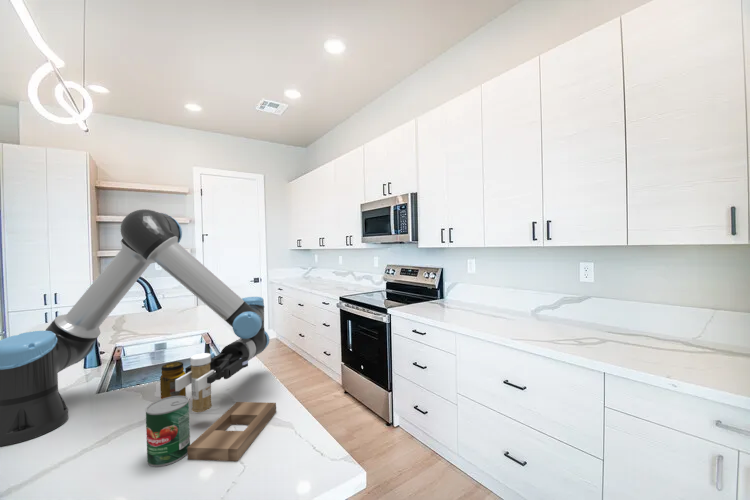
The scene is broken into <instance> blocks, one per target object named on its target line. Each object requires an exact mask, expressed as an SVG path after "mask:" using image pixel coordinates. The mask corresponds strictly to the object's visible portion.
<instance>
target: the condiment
mask: <svg viewBox="0 0 750 500" xmlns="http://www.w3.org/2000/svg"><path fill="white" fill-rule="evenodd" d="M184 370H185V369H184V362H182V361H173V362H171V361H170V362H168V363H165V364H163V365H162V367H161V376H160V378H159V382H160V383H159V384H160V386H159V387H160V388H159V389H160V399H163V398H167V397H172V396H186V397H187V393H186V391H187V390H186V389H187V388H186V387H187V386H186V387H185V388H183V389H181V390H180V391H175V380H176V379H178V378H179V377H181V376H183V375H184V374H185V371H184ZM190 399H191V398H189V401H190Z"/></svg>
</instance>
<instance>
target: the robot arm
mask: <svg viewBox="0 0 750 500" xmlns="http://www.w3.org/2000/svg"><path fill="white" fill-rule="evenodd" d="M120 235H121V238H122V239H121V241H120V245H121V249H120V250H119V252H117V254H116V255H115V256H114V258H112V260H111V261H110V262H109V263H108V265H107V266H106V267H105V268H104V270H102V272H101V273H100V274H99V275H98V276H97V278H96V279H95V280H94V281H93V282H92V284H91V285H90V286H89V287H88V288H87V290H86V291H85V292H84V293H83V294H82V295H81V297H80V298H79V299H78V300H77V301H76V302H75V304H74V305H73V306H72V307H71V309H70V310H69V311H68V312H67V313H66V314H61V315H57V316H56V317H55V318H54V320H53V321H51V323H50V324H49V325H48V326H47V327H46V329H45V330H35V331H26V332H22V333H19V334H16V335H12V336H11V335H10V336H8V337H5V338H2V339H1V340H0V447H3V446H9V445H14V444H18V443H21V442H24V441H28V440H31V439H34V438H37V437H40V436H41V435H46V433H49V432H51V431H53V430H56V429H57V428H59V427H60V426H62V425H63V424H65V423H66V422H67V421H68V420H69V408H68V406H67V404H66V402H65V400H64V399H63V397H62V395H61V393H60V392H59V379H58V378H59V377H58V376H59V375H58V373H60V372H62V371H63V370H65V369H68V368H69V367H71V366H73V365H75V364H78V363H79V362H81V361H82V360H84V359H85V358H86V357H88V356H89V354H90V353H91V352H92V350H94V348H95V345H96V343H97V339H98V338H99V336H100V335H101V329H100V326H101V325H102V324H103V323H104V322H105V320H106V319H107V318H108V316H109V315H110V314H112V313H111V312H113V310H115V308H116V307H117V306H118V304H119V303H120V302H121V300H123V298H124V297H125V296H126V295H127V293H128V292H129V290H131V289H132V287H133V286H134V285H135V284H136V282H137V281H138V280H139V278H140V277H141V276H142V275H144V272H145V271H146V270H147V269H148V268H149V266H150V265H151V264H157V265H158V266H159V267H161V268H162V269H163V270H164V271H166V272H167V274H169V275H170V276H171V277H172V278H174V279H175V280H176V281H177V282H179V284H181V285H182V286H184V288H186V289H187V290H188V291H189V292H190V293H191V294H192V295H193V296H195V297H196V298H197V299H198V300H200V301H201V302H202V303H203V304H204V305H206V306H207V307H208V308H209V309H210V310H211V311H213V312H214V313H215V314H217V316H218V317H220V319H222V320H224V321H225V322H226V323H227V324H228V325H229V326H230V327H232V330H233V333H234V334H235V336H236V337H238V339H236V340H234V341H233V342H231V343H229V344H227V345H226V346H224V347H223V348H222V349H221V351H220V353H219V354H216V355H215V356H213V357H211V362H210V371H209V372H208V373H206V374H204V375H203V376H201V377H200V378H198V379H197V380H195V392H199V391H201V390H202V389H203V388H205V387H206V386H208V385H209V384H211V385H212V384H213V383H214V382H216V381H220V380H221V379H222V378H223V380H228V379H230V378H231V377H233V376H234V375H235V374H237V373H239V372H240V371H241V370H242V369H244V368H248V366H249V361H250V360H252V359H253V358H255V357H256V356H258V355H260V354H261V353H263V351H264V350H265V349H266V348H267V347H268V346H269V344H270V336H269V334H268V332H267V331H266V330H265V304H264V298H263V297H261V296H247V297H240V296H239V295H238V294H237V293H236V292H235V291H234V290H232V288H231V287H229V286H228V285H227V284H226V283H224V282H223V281H222V280H221V279H220V278H219V277H218V276H217V275H215V274H214V273H213V272H212V271H211V270H209V268H208V267H206V266H205V265H204V264H203V263H201V261H199V260H198V259H197V258H196V257H195V256H193V254H191V253H190V252H189V251H188V250H187V249H186V248H184V247H183V246H182V245H181V244H180V242H181V240H182V236H183V230H182V227H181V225H180V223H179V222H178V221H177V219H176V218H174V217H172V216H171V215H168V214H166V213H164V212H158V211H155V210H153V209H152V210H151V209H138V210H134V211H132V212H130V213H128V214H127V215H126V216H125V217H124V218H123V219H122V221H121V224H120ZM184 370H185V371H184V372H185V374H184V375H183V376H181V377H179V378H178V379H176V380H175V391H180V390H181V389H183V388H185V387H187V386H190V385H191V376H192V375H191V364H190V365H188V366H186V367H185V369H184Z"/></svg>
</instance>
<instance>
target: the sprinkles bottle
mask: <svg viewBox="0 0 750 500" xmlns="http://www.w3.org/2000/svg"><path fill="white" fill-rule="evenodd" d="M211 358H212V356H211V353H209V352H203V353H202V352H201V353H196V354H193V355H191V357H190V359H189V360H190V365H191V375H192V376H191V384H190V385H191V387H190V388H191V412H193V413H203V412H206V411H208V410H210V409H211V408H212V407H213V405H212V383H211V384H209V385H208V386H206V387H205V388H203V389H202V390H201V391H199V392H195V380H197V379H198V378H200V377H201V376H203V375H204V374H206V373H208V372H209V371H210V362H211Z"/></svg>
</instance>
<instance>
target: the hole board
mask: <svg viewBox="0 0 750 500" xmlns="http://www.w3.org/2000/svg"><path fill="white" fill-rule="evenodd" d="M276 413H277V402H262V401H261V402H259V401H258V402H257V401H255V402H254V401H253V402H252V401H236V402H235V403H234V404H233V405H232V406H230V407H229V409H227V411H225V412H224V413H223V414H222V415H221V416H220V417H219V418H218V419H216V421H214V422H213V423H212V424H211V425H210V426H209V427H208V428H207V429H206V430H204V431H203V433H201V434H200V435H199V436H198V437H196V439H195V440H193V442H192V443H190V446H188V447H187V452H188V454H187V460H197V461H198V460H199V461H220V462H221V461H223V462H224V461H225V462H226V461H227V462H239V460H240V459H241V458H242V456H243V455H244V454H245V452H246V451H247V450H248V449H249V447H250V446H251V445H252V444H253V442H255V440H256V439H257V437H258V436H259V435H260V434H261V432H262V431H263V429H264V428H265V427H266V426H267V425H268V423H269V422H270V421H271V420H272V418H273V416H274V415H275V414H276ZM232 425H236V426H237V425H243V426H247V427H246V428H245V429H244V430H227V429H228V428H229V427H230V426H232Z"/></svg>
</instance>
